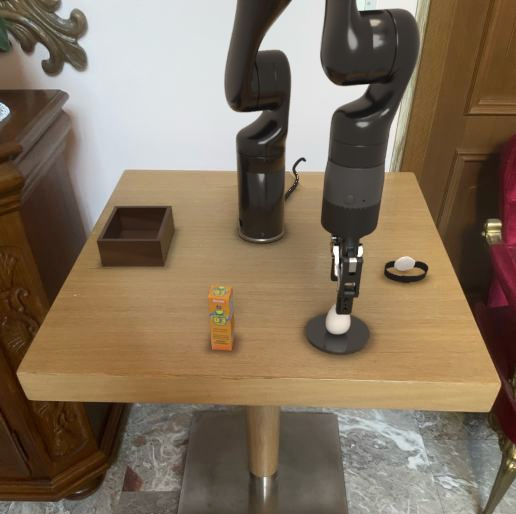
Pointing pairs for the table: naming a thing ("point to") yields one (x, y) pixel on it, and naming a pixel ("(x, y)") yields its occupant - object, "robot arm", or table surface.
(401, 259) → the watch
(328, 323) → the egg
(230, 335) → the supplement box
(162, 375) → the table surface
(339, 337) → the coaster
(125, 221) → the crate
